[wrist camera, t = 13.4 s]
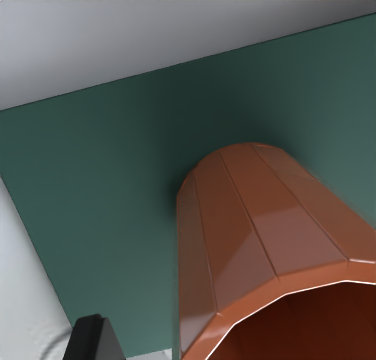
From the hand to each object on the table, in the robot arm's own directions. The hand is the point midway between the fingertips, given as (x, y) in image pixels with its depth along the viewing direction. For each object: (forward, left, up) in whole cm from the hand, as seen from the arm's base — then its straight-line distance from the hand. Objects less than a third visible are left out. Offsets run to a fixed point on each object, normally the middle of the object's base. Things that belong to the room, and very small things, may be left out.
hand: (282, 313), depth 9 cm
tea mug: (0, -2, -7) cm, 7 cm away
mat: (0, 0, -7) cm, 7 cm away
